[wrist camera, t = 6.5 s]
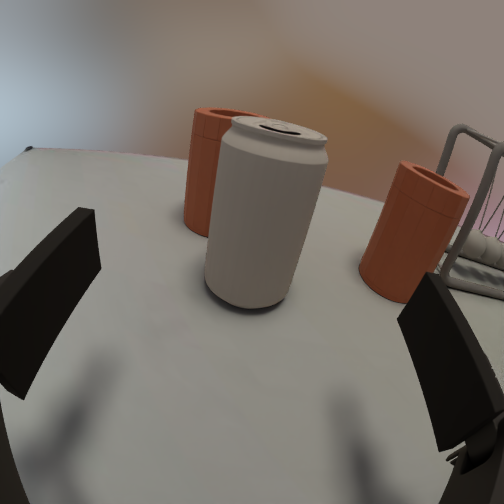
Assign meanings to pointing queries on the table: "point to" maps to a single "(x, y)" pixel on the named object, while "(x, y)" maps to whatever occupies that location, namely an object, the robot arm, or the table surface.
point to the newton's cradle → (473, 240)
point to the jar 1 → (205, 164)
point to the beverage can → (262, 208)
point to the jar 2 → (411, 231)
